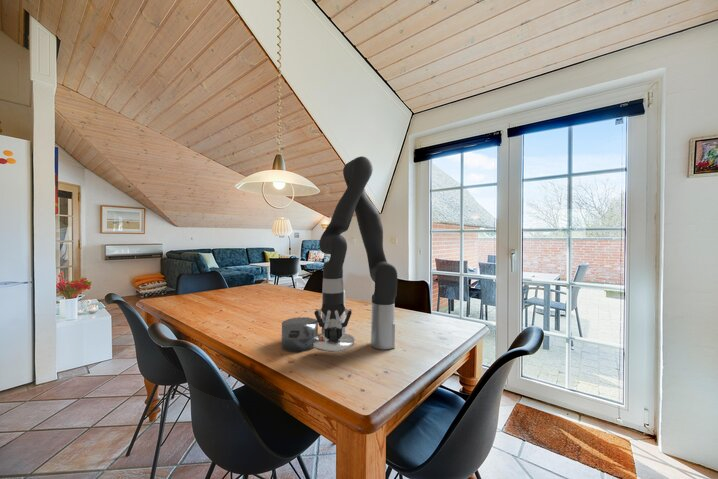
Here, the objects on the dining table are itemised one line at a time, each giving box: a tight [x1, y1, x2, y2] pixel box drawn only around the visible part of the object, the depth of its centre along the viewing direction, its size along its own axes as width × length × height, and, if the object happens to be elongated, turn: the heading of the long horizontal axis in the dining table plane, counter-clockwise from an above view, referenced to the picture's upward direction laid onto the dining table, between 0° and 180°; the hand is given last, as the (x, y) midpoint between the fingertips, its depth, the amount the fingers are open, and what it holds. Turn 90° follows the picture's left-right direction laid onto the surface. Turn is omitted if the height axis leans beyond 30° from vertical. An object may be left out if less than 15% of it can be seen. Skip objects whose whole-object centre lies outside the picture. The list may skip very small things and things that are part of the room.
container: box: [321, 289, 346, 334], centre depth 122 cm, size 10×10×20 cm
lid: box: [312, 327, 355, 352], centre depth 100 cm, size 15×15×5 cm
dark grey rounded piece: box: [281, 316, 319, 353], centre depth 111 cm, size 21×14×9 cm, turn 178°
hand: (333, 337), depth 100 cm, fingers closed on lid, 3 cm apart
